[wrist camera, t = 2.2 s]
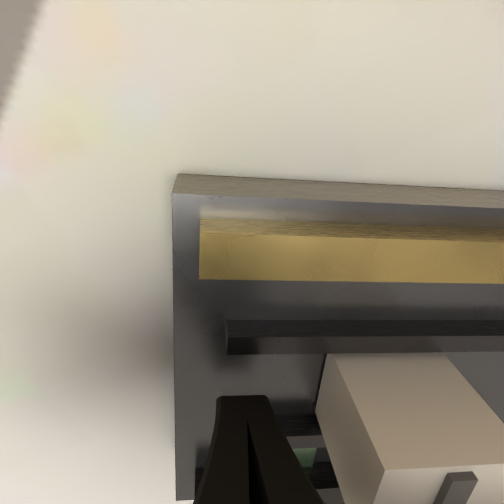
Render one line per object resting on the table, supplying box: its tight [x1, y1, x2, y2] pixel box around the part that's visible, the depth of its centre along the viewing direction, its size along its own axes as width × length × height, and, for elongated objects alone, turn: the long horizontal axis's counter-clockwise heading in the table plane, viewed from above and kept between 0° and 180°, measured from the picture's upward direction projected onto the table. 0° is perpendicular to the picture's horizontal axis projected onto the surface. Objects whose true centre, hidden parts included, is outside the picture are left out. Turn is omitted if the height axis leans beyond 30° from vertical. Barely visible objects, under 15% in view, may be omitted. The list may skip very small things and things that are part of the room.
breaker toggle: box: [315, 352, 504, 504], centre depth 10 cm, size 4×3×4 cm
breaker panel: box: [172, 174, 504, 504], centre depth 13 cm, size 13×12×3 cm
